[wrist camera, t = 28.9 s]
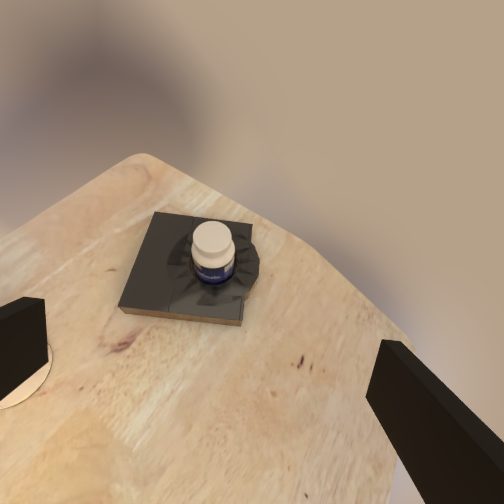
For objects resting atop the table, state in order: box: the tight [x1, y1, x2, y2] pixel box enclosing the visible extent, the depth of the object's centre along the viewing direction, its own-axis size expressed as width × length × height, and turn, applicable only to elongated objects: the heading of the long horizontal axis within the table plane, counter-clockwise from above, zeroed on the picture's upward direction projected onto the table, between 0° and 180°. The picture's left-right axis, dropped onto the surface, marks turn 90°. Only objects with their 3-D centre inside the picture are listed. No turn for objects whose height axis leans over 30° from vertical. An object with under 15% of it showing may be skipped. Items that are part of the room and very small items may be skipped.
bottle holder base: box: [118, 212, 260, 327], centre depth 36 cm, size 18×16×3 cm
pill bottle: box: [191, 221, 235, 285], centre depth 34 cm, size 6×6×10 cm
